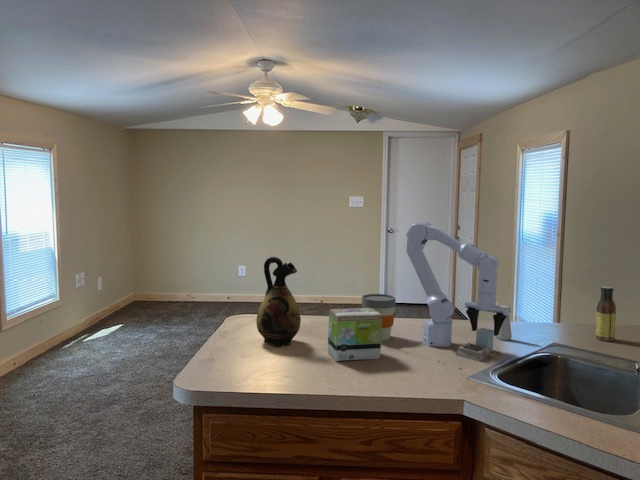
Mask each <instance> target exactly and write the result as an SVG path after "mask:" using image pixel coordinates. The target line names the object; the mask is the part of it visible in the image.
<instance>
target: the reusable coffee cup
mask: <svg viewBox="0 0 640 480" xmlns="http://www.w3.org/2000/svg"><path fill="white" fill-rule="evenodd" d="M396 303H397V301H396V297H395V296H394V295H391V294H386V293H385V294H381V293H368V294H363V295H362V298H361V306H362V308H372V309H374V310H375V311H377V312H378V313H380V314H381V315H382V331H381V342H385V341H388V340H390V338H391V333H392V327H393V326H394V322H395V321H394V320H395V315H396V313H395V308H396V306H397V304H396Z"/></svg>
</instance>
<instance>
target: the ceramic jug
mask: <svg viewBox="0 0 640 480" xmlns="http://www.w3.org/2000/svg"><path fill="white" fill-rule="evenodd" d="M271 264H276V265H277V267H276V268H275V269H274V270H273V271H272V275H271V270H270V265H271ZM263 269H264V270H263V273H264V278H265V281H266V285H267V289H266V291H265V295H264V299H263V300H262V302H261V304H260V306H259V308H258V310H257V315H256V319H255V320H256V322H255V323H256V329H257V331H258V334H260V335H261V336H262V338H263V343H264V344H266V345H267V346H269V347H270V346H271V347H275V348H280V347H288V346H291V344H292V341H293V338H295V336H296V335H297V334H298V332H299V330H300V328H301V321H302V318H301V314H300V309H299V306H298V303H297V301H296V299H295V298H294V296H293V294H292V292H291V290H290V289H289V287H288V285H287V284H286V278H287V277H288V276H290V275H294V274H296V273H298V270H297V268H296V266H295V265H294V263H292V262H288V263H287V262H284V263H283V261H282V260H281V258H279V257H277V256H270V257H268V258H267V259H266V260H265V262H264V265H263ZM271 276H273V277H275V281H274V282H273V280H272V277H271Z"/></svg>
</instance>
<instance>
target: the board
mask: <svg viewBox="0 0 640 480" xmlns="http://www.w3.org/2000/svg"><path fill="white" fill-rule="evenodd" d="M456 350H457V353H456V354H455V355H456V356H459V357H463V358H466V359H469V360H474V361H476V362H484V361H487V360H488V359H491V358H492V357H494V356H496V355H498V354H500V353H501V351H499V350H495V349H493V351H491V352H490V348H488V347H484V346H479V345H476V343H471V342H468V343H465V344H463V345H460V346H458V347H457V348H456Z"/></svg>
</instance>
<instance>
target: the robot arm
mask: <svg viewBox="0 0 640 480" xmlns="http://www.w3.org/2000/svg"><path fill="white" fill-rule="evenodd" d="M406 238H407V240H406V254H407V255H408V257H409V260H410V262H411V264H412V266H413V269H414V271H415V273H416V275H417V277H418V280H419V282H420V283H421V286H422V288H423V290H424V292H425V295H426V297H427V306H428V309H429V313H428V314H429V317H430V320H426V321H424V323H423V326H422V327H423V329H422V342H423V343H424V344H425V345H426V346H427V347H440V348H441V347H451V346H452V340H453V339H452V337H453V336H452V335H453V319H452V316H453V314H454V313H455V306H454V304H453V302H452V301H451V300H449V299H448V296H447V295H446V294H445V293H444V292H443V291H442V289H441V287H440V285H439V283H438V281H437V278H436V276H435V274H434V272H433V270H432V268H431V266H430V263H429V262H428V259H427V257H426V255H425V253H424V249H425V246H426V244H427V242H428V241H437V242H439V243H441V244H443V246H446V247H448V248H450V249H451V250H454V252H457V255H458V258H460V259H462V261H464V262H466V263H468V264H470V265H471V266H473V267H475V268H477V271H478V272H479V273H478V284H477V285H478V288H477V302H473V301H465V302H464V309H465V313H466V315H467V317H468V319H469V322H470V326H471V332H472V331H473V332H475V331H476V332H477V330H478V322H479V321H478V319H479V314H480V311H481V312H488V313H493V315H492V318H493V330H494V333H493V337H494V336H497V335H499V331H500V328H501V326H502V324H503V322H504V320H505V318H506V317H507V315H509V316H510V313H509V309H507V308H503V307H499V305H497V304H496V303H497V286H498V285H497V284H498V279H497V278H498V272H497V270H498V269H499V266H500V263H499V260H498V258H496V257H495V256H494V255H492V254H489V252H487V251H483V250H481V249H479V248H478V247H476V244H475V243H473V242H472V243H470V242H465V243H462V242H461V241H459V240H457V238H455V237H453V236H452V235H450V234H448V233H447V232H445V231H444V230H443V229H441V228H439V227H438V226H436V225H434V224H431V223H430V222H428V221H422V222H414V223H412V224H411V225H410V226H409V228H408V230H407V232H406Z"/></svg>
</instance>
